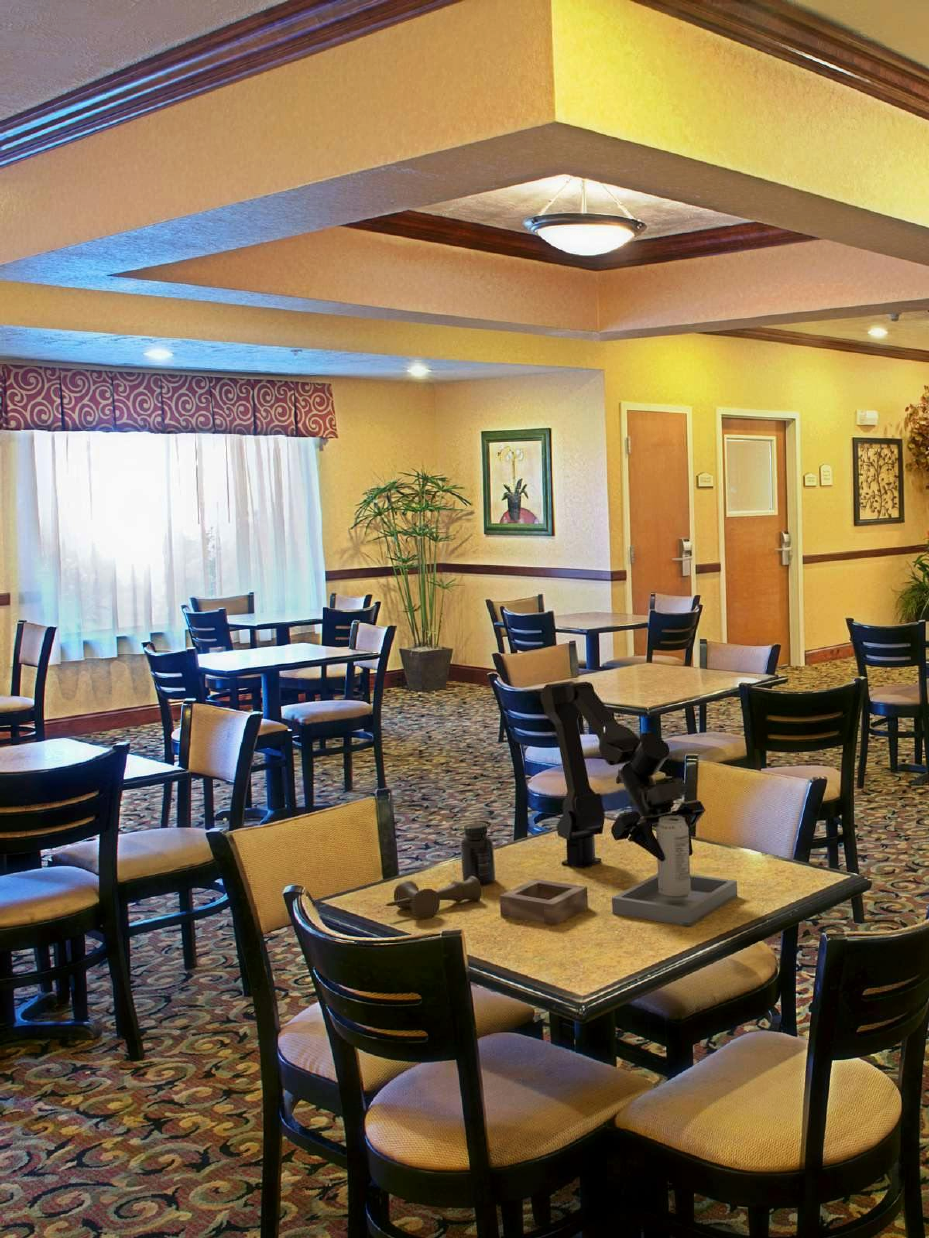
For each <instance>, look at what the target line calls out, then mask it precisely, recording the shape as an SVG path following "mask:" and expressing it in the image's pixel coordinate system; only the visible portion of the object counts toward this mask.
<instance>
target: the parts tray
mask: <svg viewBox="0 0 929 1238" xmlns="http://www.w3.org/2000/svg"><path fill="white" fill-rule="evenodd" d="M690 886H691V892H690V893H689V894H688V897H687V898H685V899H682V900H668V899H665V898H663V897H662V894H660V893H659V887H658V872H657V873H655V874H653V875H651V876H650V877H648V878H646V879H644V880H642V881H640V882H639V883H637V884H636V885H632V887H630V888H628V889H626V890H624V891H622V892H620V893H618V894H616V895H615V896H613V897H611V907H612V914H614V915H618V916H619V915H620V916H623V917H631V918H637V919H642V920H649V921H653V920H654V922H659V923H660V922H661V923H665V924H670V925H671V924H672V925H676V924H677V925H678V926H682V925H683V927H688V928H691V926H693V925H695V924H696V923H699V921H701V920H702V919H704V918H706V917H707V916H709V915H710V914H712V913H713V912H715V911H716V910H718V909H720V908H721V907H723V906H725V904H728V903H729V902H731V901H732V900H733V899H735V898H738V881H737V880H732V879H726V878H725V879H724V878H721V877H720V878H719V877H713V876H712V877H711V876H707V875H706V876H705V875H700V874H699V875H697V874H693V873H690ZM730 900H731V901H730ZM719 907H720V908H719ZM677 925H676V926H677Z"/></svg>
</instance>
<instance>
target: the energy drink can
mask: <svg viewBox="0 0 929 1238" xmlns="http://www.w3.org/2000/svg"><path fill="white" fill-rule="evenodd" d="M684 820H685V818H684V817H681V816H664V817H661V818H659V823H658V824H657V825H656V827H655V830H656V833H655V835H656V836H655V837H656V839H657V841H658V843H659V845H660V847H661V849H662V851H663V854H664V856H665V860H664V861H662V862H661V861H660V860H659V859H657V858H656V859H657V861H656V862H657V873H658V887H659V893H660V894H662V897H663V898H665V899H668V900H682V899H685V898H687V897H688V894H689V893H690V892H691V886H690V874H691V868H690V867H691V865H690V863H691V861H690V856H689V833H688V826H687V824H686V823H685V821H684Z"/></svg>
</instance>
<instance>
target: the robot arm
mask: <svg viewBox="0 0 929 1238" xmlns="http://www.w3.org/2000/svg"><path fill="white" fill-rule="evenodd" d="M539 697H540V702H541V704H542V708H543V710H544V713H545V716H546V717H547V718H548V719H549V720H550V721H551V722H552V723H553V725H554V727H555V733H556V737H557V738H556V739H557V742H558V749H559V753H560V758H561V764H562V769H563V774H564V779H565V785H566V795H565V797H564V800H563V802H562V812H563V813H562V816H561V818H560V819H559V821H558V823H557V824H556V826H555V827H556V830H557V831H556V833H557V836H558V837H560V838H562V839H565V840H566V845H565V848H566V859H565V860H563V861H561V865H564V866H572V867H576V868H581V869H582V868H584V869H587V868H589V867H591V866H594V865H596V864H598V863H600V862H602V858H600V857H596V846H595V845H596V844H595V843H596V842H595V836H596V835H603V832H604V824H605V820H606V813H605V811H606V810H605V808H604V804H603V801H602V800H603V799H602V796H601V794H600V793H596V792H595V791H594V790H593V789H592V788H591V785H590V781H589V774H588V769H587V765H586V764H587V763H586V761H585V754H584V750H583V748H584V747H583V743H582V738H581V734H580V729H579V723H578V720H579V717H580V715H582V717H583V718H584V720H585V721H586V722H587V723H588V725H589V726H590V728H591V729H592V731H593V732H594V733H595V735H596V737H597V738H598V740H599V741H598V750H599V752H600V754H601V755H602V758H603V759H604V761H605V762H606V764H607V765H609V766H617V765H622V768H621V769H618V770H617V776H616V778H615V779H616V781H615V783H616V784H617V785H620V784H623V787H624V788H625V790H626V792H627V794H628V796H629V798H630V801H629V806H630V808H632V809H633V808H635V810H633V811H629V812H621V813H619V815H618V816H617V817H616V819H615V821H614V822H613V824H612V826H610V827H611V828H610V832H611V835H612V837H613V839H614V841H622V840H628V841H629V842H633V843H635V844H636V845H638V846H639V847H641V848H643V849H644V850H646V852H648V853H649V854H651V855H652V856H653V857H654V858H656V859H659V860H660V861H661V862H662V861H664V860H665V856H664V854H663V851H662V849H661V847H660V845H659V843H658V841H657V838H656V836H655V833H654V832H653V831H654V830H653V826H655V825H656V826H657V825H658V823H659V818H661V817H664V816H681V817H684V818H685V820H684V821H685V823H686V824H687V826H688V833H689V857H691V856H692V855H693V853H694V851H693V843H692V836H691V827H694V826H695V825H696V824H697V823H698V821H699V820H700V819H701V817H703V815H704V813H705V812H706V808H705V806H704V804H703V802H701V800H699V799H698V800H697V799H694V800H690V801H683V802H681V804H680V805H679V806H678V808H677V809H676V810H672V811H671V810H670V809H671V808H673V807H674V805H675V802H674V801H676V800H681V799H682V798H683V797H682V796H684V795H685V794H687V793H688V789H687V785H686V783H685V781H684V780H683V778H682V777H678V778H673V780H670V781H669V783H663V784H661V783H656V780H655V778H654V777H653V776H654V775H656V774H657V773H658V772H659V770H660V769H661V767H662V766H663V764H664V762H665V761H666V760H667V758H668V756H669V754H670V750H671V749H670V747H669V744H668V743H667V742H665V740H663V739H662V738H661V737H659V736H655V735H653V732H652V731H645V732H642V733H641V734H640V736H637V734H636V733H635V732H634V731H633V730H631V728H629V727H627V726H625V725H622V724H620V723H619V722H618V720H616V719H615V717H614V715H612V713H611V712H610V710H609V709H608V708H607V706H606V704H604V702H603V701H602V700H601V698H600V697H599V696H598V694H597V693H596V692H595V688H594V685H593V683H592V682H589V681H580V682H579V681H578V682H574V681H565V682H564V681H562V682H555V683H547V684H546V685H544V686H543V689H542V690H541V691H540V696H539Z"/></svg>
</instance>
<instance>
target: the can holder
mask: <svg viewBox="0 0 929 1238" xmlns="http://www.w3.org/2000/svg"><path fill="white" fill-rule="evenodd" d="M588 898H589V897H588V886H582V885H577V884H571V883H564V882H558V881H552V880H544V879H538V878H534V879H532V880H529V881H527V882H526V883H523V884H521V885H518V886H516V887H515V888H513V889H511V890H508V891H506V892H504V893H502V894H500V895H499V907H500V908H499V909H500V911H499V912H500V917H504V918H508V917H509V919H514V918H515V920H519V921H525V920H527V921H526V922H530V923H531V921H532V923H537V924H540V925H548V926H552V927H555V926H556V925H558V924H560V923H561V922H564V921H566V920H567V919H569V918H572V917H573V916H574V915H577V914H578V913H580V912H582V911H584V910H586V909H588V908H589V899H588Z"/></svg>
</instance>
